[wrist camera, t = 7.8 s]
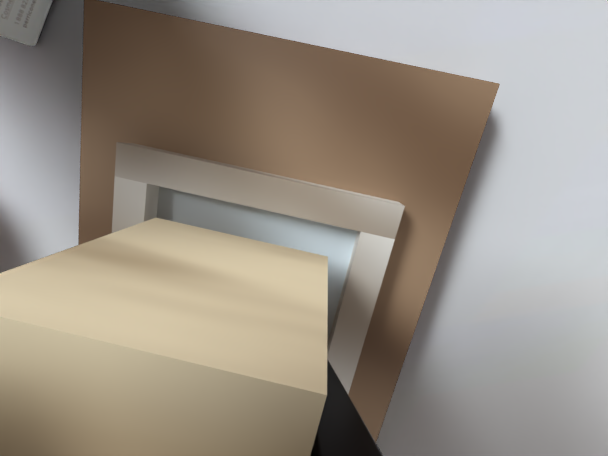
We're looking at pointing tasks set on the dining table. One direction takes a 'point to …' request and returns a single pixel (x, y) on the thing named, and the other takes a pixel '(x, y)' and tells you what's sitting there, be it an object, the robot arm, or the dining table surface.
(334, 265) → the walnut board
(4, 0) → the small box
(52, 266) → the maple block
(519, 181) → the dining table surface
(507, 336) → the dining table surface
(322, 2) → the dining table surface
